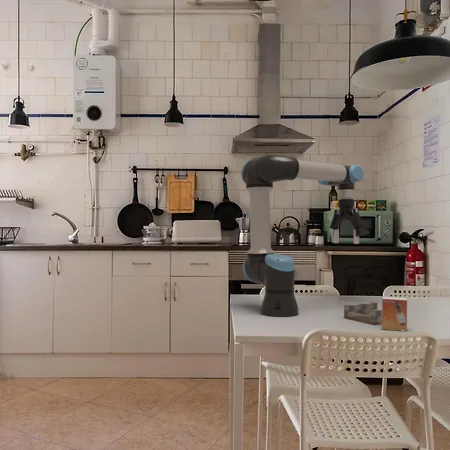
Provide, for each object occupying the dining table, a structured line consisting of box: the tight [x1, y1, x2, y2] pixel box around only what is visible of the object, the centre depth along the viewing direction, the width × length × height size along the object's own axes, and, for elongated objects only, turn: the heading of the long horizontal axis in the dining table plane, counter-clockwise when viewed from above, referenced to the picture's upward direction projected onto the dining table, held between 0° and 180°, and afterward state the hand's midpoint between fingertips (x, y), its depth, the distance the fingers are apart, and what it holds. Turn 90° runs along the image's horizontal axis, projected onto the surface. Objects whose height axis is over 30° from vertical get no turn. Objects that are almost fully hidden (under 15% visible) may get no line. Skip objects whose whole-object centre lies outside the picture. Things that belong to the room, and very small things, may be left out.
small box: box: [381, 296, 408, 331], centre depth 153 cm, size 8×6×10 cm
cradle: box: [343, 301, 382, 326], centre depth 169 cm, size 16×15×5 cm
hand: (346, 243), depth 216 cm, fingers open, 13 cm apart
